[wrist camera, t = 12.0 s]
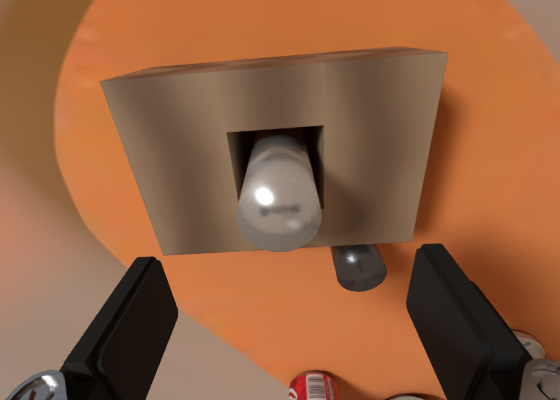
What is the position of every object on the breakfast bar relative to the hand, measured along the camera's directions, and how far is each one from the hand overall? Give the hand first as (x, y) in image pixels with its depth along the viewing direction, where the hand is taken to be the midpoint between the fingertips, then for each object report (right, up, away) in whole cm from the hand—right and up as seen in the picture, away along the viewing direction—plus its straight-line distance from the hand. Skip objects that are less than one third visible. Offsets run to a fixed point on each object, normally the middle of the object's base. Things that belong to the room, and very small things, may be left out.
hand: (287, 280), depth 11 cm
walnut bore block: (0, +8, +13) cm, 15 cm away
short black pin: (+6, 0, +18) cm, 19 cm away
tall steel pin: (0, +8, +13) cm, 15 cm away
